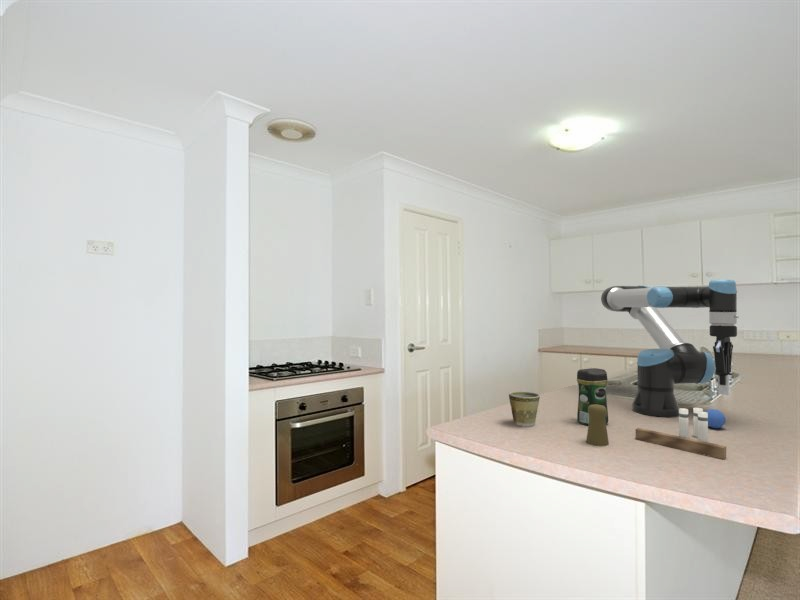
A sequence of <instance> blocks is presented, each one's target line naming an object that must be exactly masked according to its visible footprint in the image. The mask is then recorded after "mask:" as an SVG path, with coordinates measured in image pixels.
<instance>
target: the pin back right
mask: <svg viewBox="0 0 800 600" xmlns="http://www.w3.org/2000/svg"><path fill="white" fill-rule="evenodd" d="M697 440H699V441H703V442H708V443H709V426H708V413H707V412H706V411H704V410H703V411H698V438H697Z"/></svg>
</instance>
